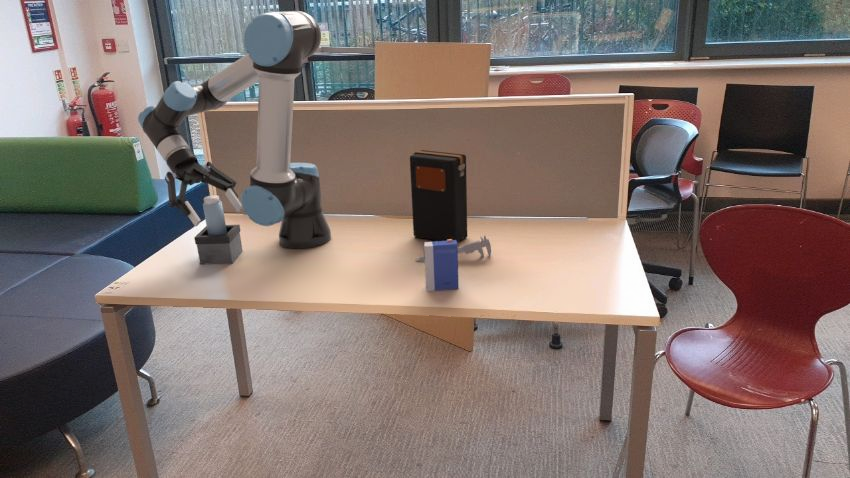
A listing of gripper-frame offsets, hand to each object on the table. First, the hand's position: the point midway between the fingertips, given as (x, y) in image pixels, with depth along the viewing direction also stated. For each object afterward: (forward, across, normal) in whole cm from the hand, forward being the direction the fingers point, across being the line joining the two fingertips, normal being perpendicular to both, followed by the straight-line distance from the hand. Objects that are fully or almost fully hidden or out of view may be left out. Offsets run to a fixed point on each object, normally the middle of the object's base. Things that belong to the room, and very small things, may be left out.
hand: (219, 216), depth 171 cm
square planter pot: (+7, 0, -11) cm, 13 cm away
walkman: (+52, -17, +34) cm, 65 cm away
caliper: (+47, -34, +28) cm, 64 cm away
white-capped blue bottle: (+3, 0, -6) cm, 7 cm away
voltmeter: (+38, -44, +20) cm, 62 cm away
